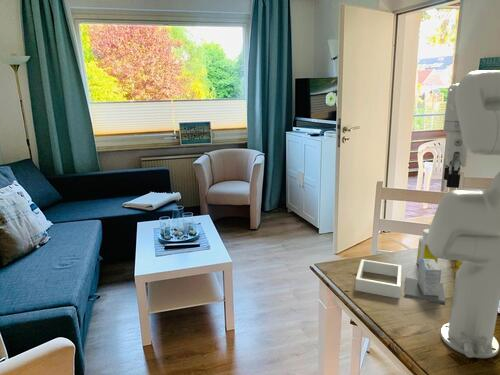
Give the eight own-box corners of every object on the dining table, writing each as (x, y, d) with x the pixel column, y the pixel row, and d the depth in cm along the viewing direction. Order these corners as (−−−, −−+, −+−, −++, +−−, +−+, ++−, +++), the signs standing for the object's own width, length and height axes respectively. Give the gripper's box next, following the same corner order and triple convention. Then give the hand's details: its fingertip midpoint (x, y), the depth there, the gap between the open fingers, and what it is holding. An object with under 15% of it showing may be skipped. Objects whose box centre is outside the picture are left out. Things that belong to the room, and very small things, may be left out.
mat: (445, 303, 108) (445, 301, 107) (404, 296, 112) (404, 293, 112) (442, 285, 117) (442, 283, 117) (405, 279, 122) (405, 277, 121)
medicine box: (438, 296, 110) (442, 270, 108) (422, 295, 111) (426, 269, 108) (431, 283, 117) (434, 258, 115) (416, 282, 118) (419, 257, 116)
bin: (399, 298, 111) (400, 286, 110) (355, 290, 116) (355, 278, 115) (400, 276, 124) (401, 265, 123) (360, 269, 129) (361, 259, 128)
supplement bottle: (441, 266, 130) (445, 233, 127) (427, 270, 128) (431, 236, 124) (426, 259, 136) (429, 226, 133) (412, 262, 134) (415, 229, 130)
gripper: (477, 130, 98) (468, 191, 102) (468, 124, 113) (461, 178, 118) (446, 129, 101) (439, 189, 105) (441, 124, 116) (435, 176, 121)
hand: (450, 183), depth 112 cm, fingers open, 9 cm apart
